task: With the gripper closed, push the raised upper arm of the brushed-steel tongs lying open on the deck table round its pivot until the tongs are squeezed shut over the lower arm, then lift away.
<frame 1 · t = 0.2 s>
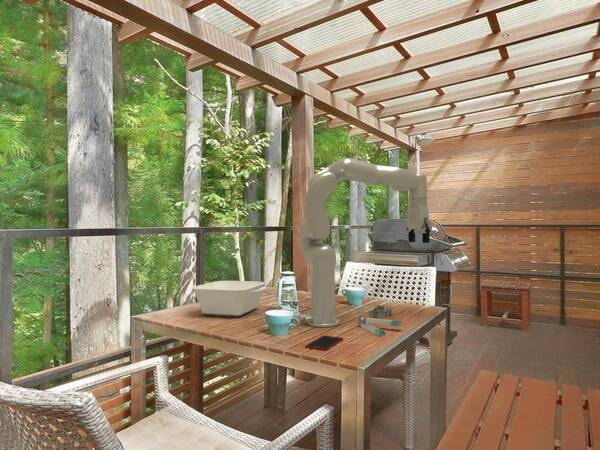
hand: (418, 242, 181), 31 cm above the table, tool pointing down, fingers open, 9 cm apart
tub: (230, 313, 191), on the table
tongs upper arm: (383, 322, 157), point 3 cm above the table, hinge at 40.0°
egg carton: (381, 316, 179), on the table
cell phone: (324, 345, 139), on the table
tongs lower: (362, 326, 161), on the table
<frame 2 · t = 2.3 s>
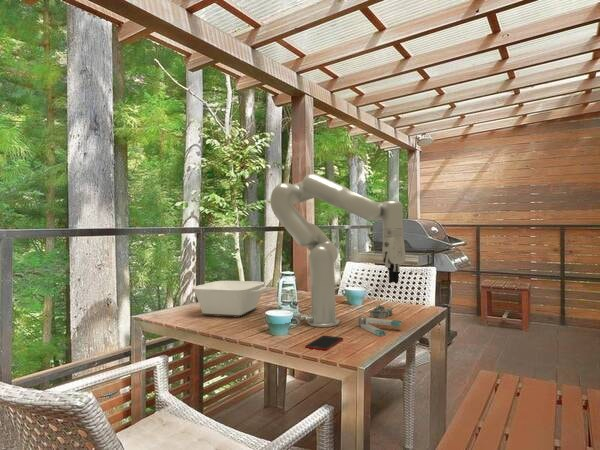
hand: (393, 281, 160), 17 cm above the table, tool pointing down, fingers closed
nothing on the table moved.
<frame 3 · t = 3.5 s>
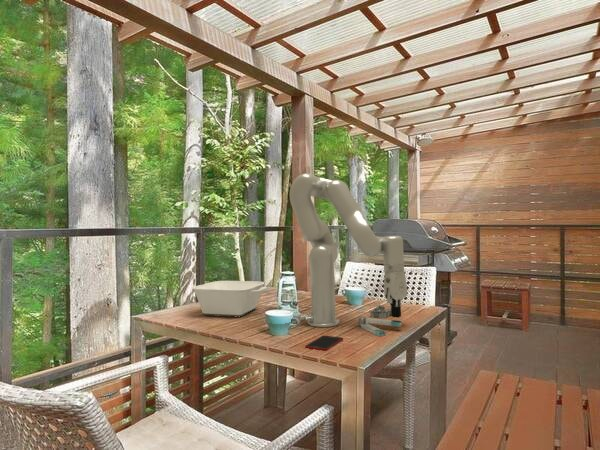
hand: (396, 316, 159), 4 cm above the table, tool pointing down, fingers closed
nothing on the table moved.
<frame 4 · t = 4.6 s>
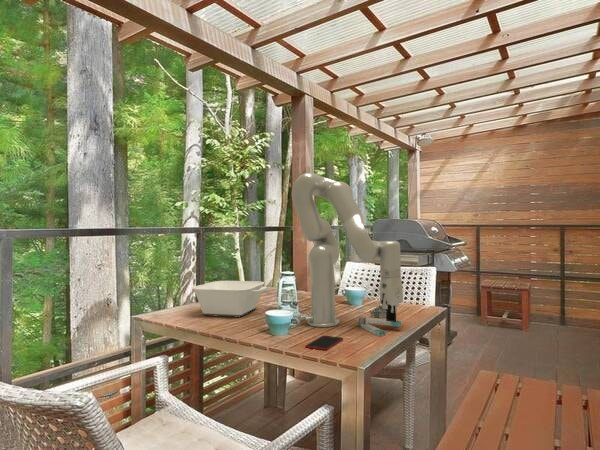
hand: (391, 322, 158), 2 cm above the table, tool pointing down, fingers closed
tongs upper arm: (383, 322, 157), point 3 cm above the table, hinge at 40.0°, touching gripper
everything else where it was.
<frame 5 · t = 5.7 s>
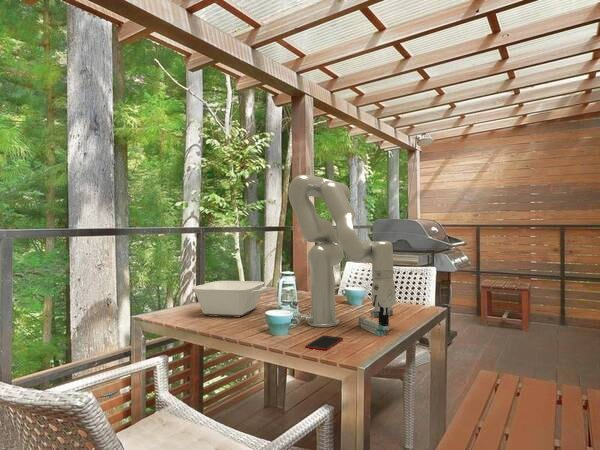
hand: (383, 325, 153), 2 cm above the table, tool pointing down, fingers closed
tongs upper arm: (375, 324, 153), point 3 cm above the table, hinge at 7.0°, touching gripper
everything else where it was.
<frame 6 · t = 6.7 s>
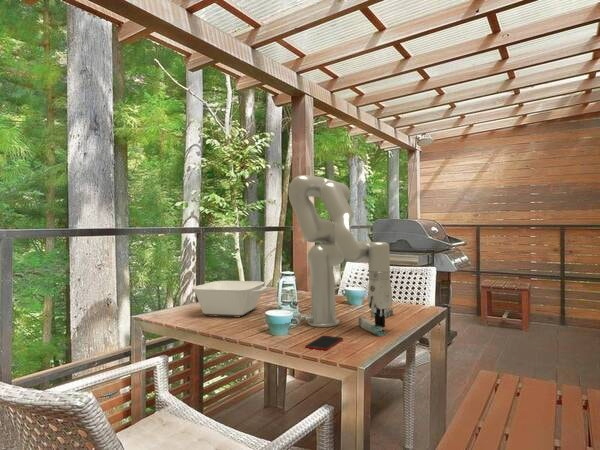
hand: (380, 326, 152), 2 cm above the table, tool pointing down, fingers closed
tongs upper arm: (370, 324, 153), point 3 cm above the table, hinge at -5.4°, touching gripper
everything else where it was.
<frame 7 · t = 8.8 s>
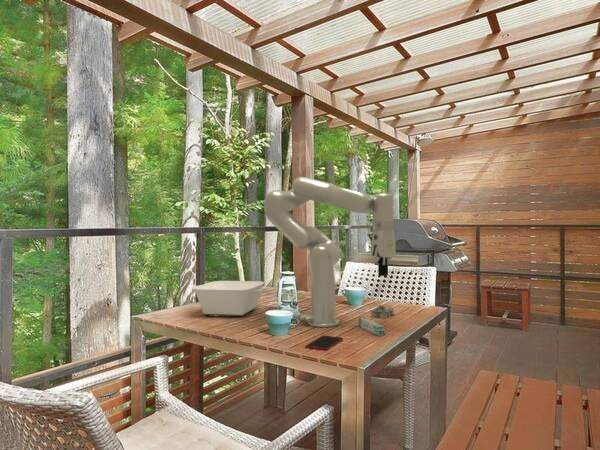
hand: (383, 275, 158), 20 cm above the table, tool pointing down, fingers closed
tongs upper arm: (372, 324, 153), point 3 cm above the table, hinge at -1.9°
everything else where it was.
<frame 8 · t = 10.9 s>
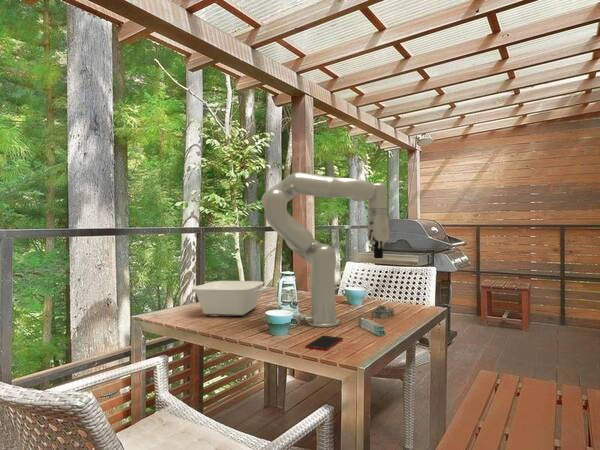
hand: (378, 258, 172), 25 cm above the table, tool pointing down, fingers closed
nothing on the table moved.
at the end: tongs upper arm at -2° (first picture: +40°) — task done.
